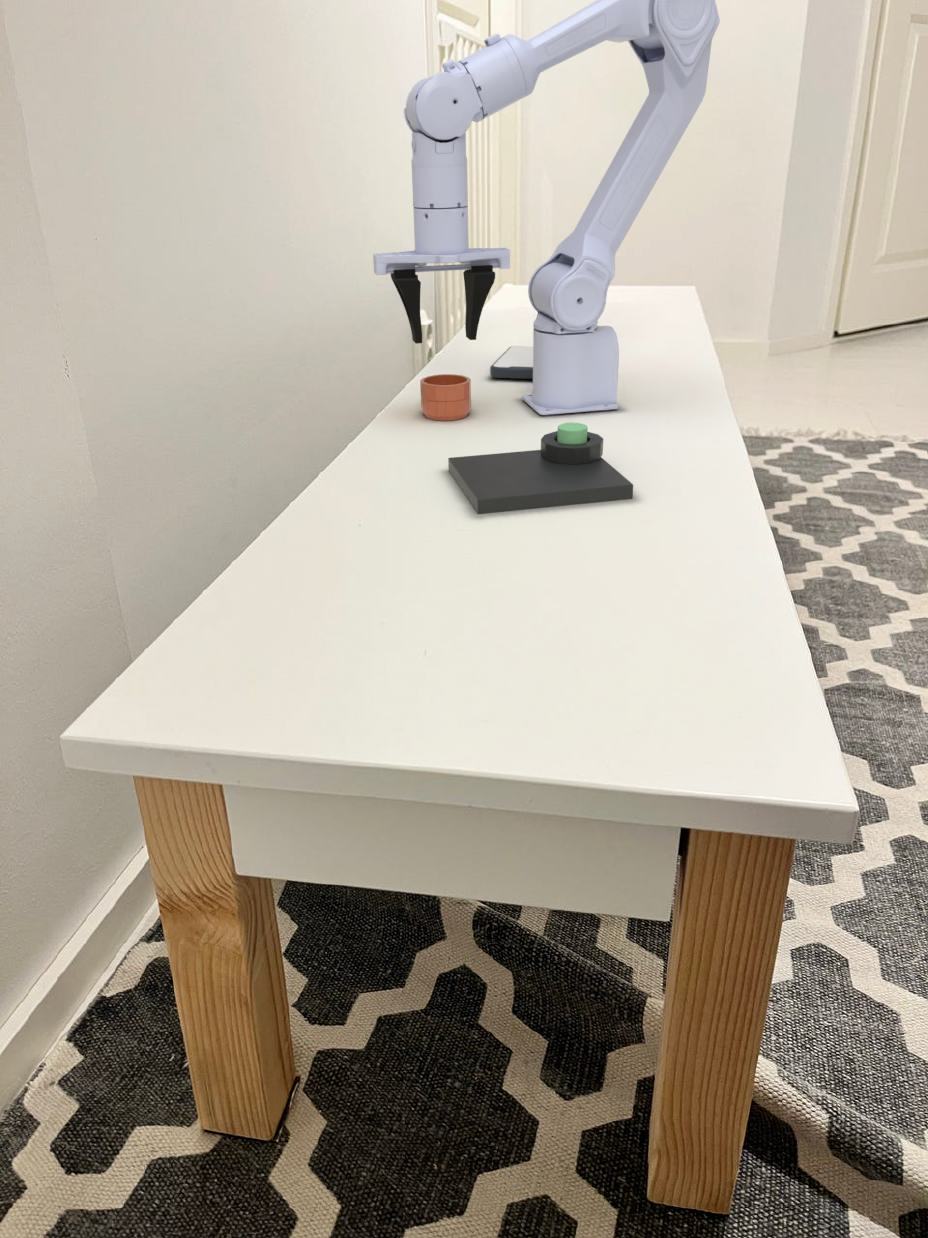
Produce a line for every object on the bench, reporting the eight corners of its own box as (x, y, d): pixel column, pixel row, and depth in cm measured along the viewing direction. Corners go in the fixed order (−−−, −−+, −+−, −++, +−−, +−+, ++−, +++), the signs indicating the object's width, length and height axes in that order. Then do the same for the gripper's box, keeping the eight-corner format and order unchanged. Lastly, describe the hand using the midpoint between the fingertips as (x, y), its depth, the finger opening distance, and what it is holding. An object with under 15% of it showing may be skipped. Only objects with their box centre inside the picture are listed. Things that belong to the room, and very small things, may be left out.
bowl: (464, 406, 114) (464, 372, 112) (475, 419, 109) (475, 383, 107) (417, 410, 113) (416, 376, 111) (427, 423, 108) (425, 387, 106)
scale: (589, 457, 96) (590, 428, 95) (636, 499, 85) (638, 466, 84) (447, 470, 93) (446, 440, 92) (477, 515, 83) (477, 481, 81)
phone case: (509, 356, 140) (487, 379, 126) (509, 344, 139) (487, 367, 125) (571, 358, 138) (555, 382, 124) (571, 346, 137) (556, 369, 123)
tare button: (581, 437, 93) (581, 421, 93) (591, 445, 91) (591, 429, 90) (553, 439, 93) (553, 423, 92) (562, 447, 90) (562, 431, 90)
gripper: (377, 212, 96) (384, 351, 103) (518, 206, 99) (517, 342, 105) (367, 207, 102) (375, 338, 109) (500, 202, 105) (500, 330, 111)
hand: (444, 339), depth 107 cm, fingers open, 5 cm apart
